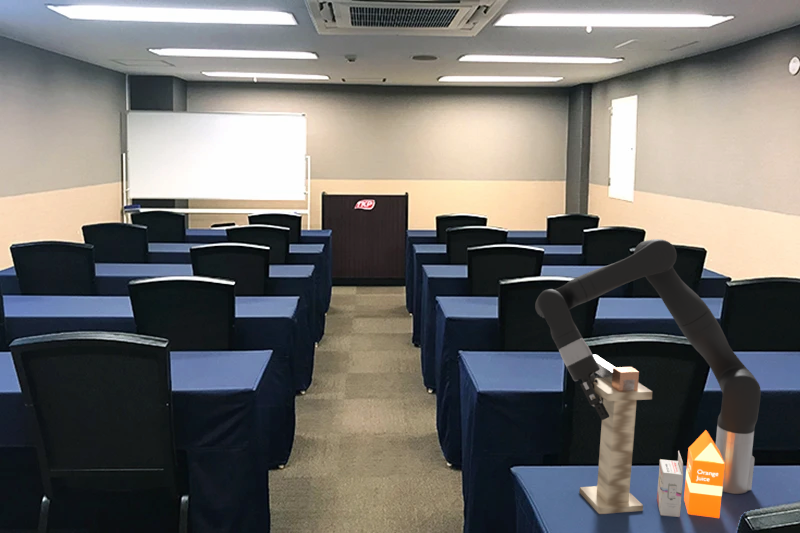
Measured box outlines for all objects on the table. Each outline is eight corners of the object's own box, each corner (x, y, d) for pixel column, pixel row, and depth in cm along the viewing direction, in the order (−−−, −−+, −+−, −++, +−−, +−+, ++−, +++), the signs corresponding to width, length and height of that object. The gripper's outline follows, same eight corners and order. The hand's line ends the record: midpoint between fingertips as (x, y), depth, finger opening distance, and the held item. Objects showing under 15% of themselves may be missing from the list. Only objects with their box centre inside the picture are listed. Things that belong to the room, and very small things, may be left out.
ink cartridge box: (655, 500, 201) (659, 447, 199) (675, 502, 200) (679, 449, 198) (659, 515, 193) (664, 461, 190) (680, 518, 192) (685, 463, 189)
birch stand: (620, 489, 207) (629, 376, 201) (642, 510, 195) (652, 391, 190) (579, 492, 204) (586, 378, 199) (599, 514, 193) (607, 393, 187)
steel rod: (598, 364, 211) (599, 347, 210) (637, 390, 190) (639, 371, 189) (581, 365, 210) (582, 347, 209) (619, 391, 189) (620, 372, 188)
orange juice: (687, 514, 194) (694, 440, 190) (683, 498, 202) (689, 427, 199) (720, 518, 192) (727, 443, 189) (714, 502, 200) (721, 430, 197)
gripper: (586, 355, 192) (617, 414, 188) (596, 351, 205) (626, 406, 201) (560, 368, 195) (590, 426, 191) (572, 363, 208) (601, 418, 204)
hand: (608, 416), depth 196 cm, fingers open, 8 cm apart
